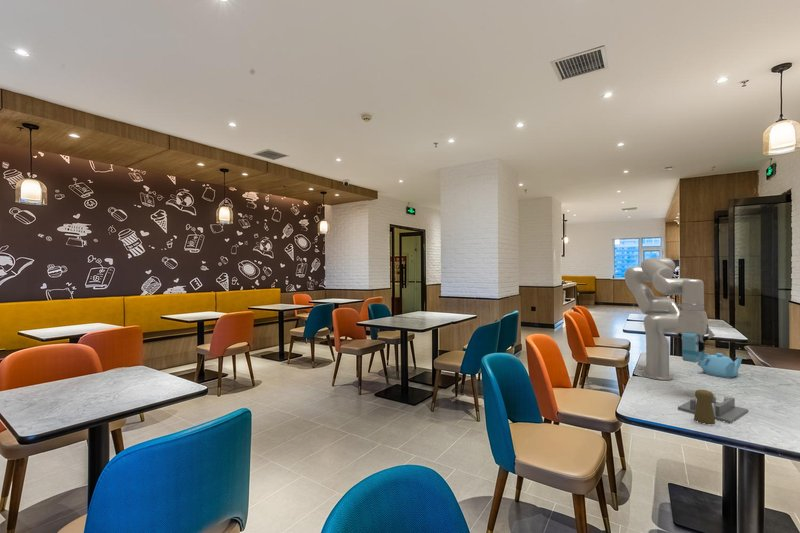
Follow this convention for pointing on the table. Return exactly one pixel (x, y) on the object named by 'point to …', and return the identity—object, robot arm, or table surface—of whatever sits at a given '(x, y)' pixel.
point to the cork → (704, 407)
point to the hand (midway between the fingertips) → (693, 349)
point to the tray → (718, 408)
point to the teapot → (720, 365)
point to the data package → (691, 348)
